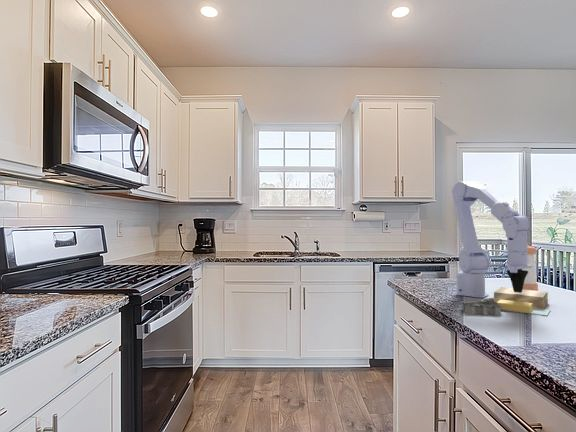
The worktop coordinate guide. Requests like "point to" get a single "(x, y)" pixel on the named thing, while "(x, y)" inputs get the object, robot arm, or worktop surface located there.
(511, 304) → the yellow rectangular block
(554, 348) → the worktop surface
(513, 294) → the tan flat block
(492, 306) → the egg carton
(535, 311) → the mat
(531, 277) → the salt shaker
